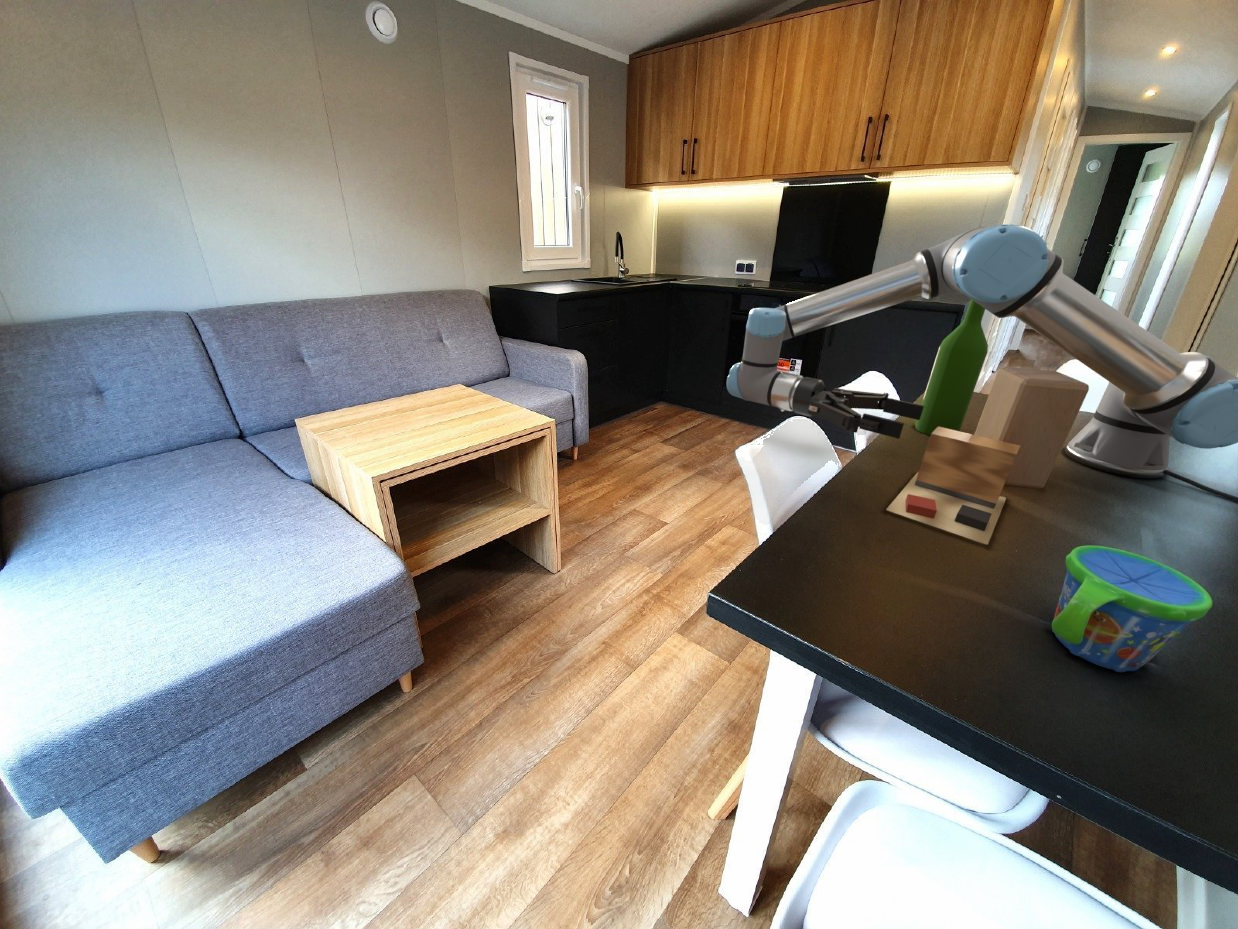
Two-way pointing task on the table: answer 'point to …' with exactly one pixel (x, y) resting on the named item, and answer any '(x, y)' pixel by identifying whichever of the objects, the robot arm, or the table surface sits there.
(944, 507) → the board
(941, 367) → the wine bottle
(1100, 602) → the snack cup
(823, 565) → the table surface
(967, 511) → the crumb
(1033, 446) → the block
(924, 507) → the crumb
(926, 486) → the eraser
